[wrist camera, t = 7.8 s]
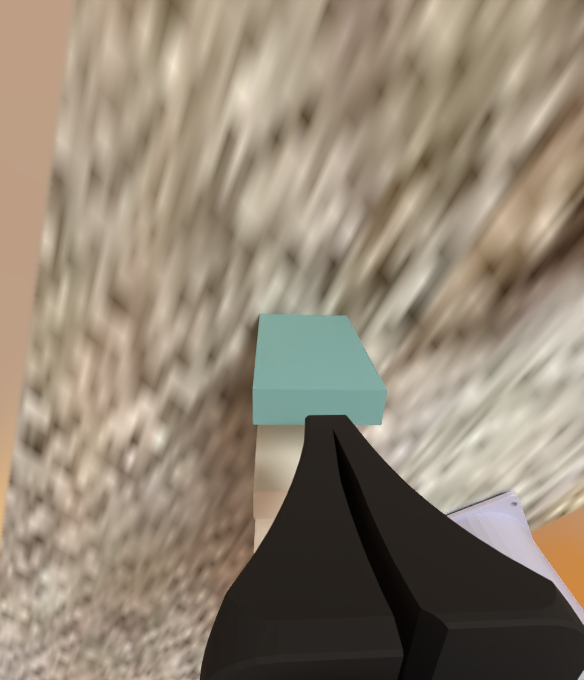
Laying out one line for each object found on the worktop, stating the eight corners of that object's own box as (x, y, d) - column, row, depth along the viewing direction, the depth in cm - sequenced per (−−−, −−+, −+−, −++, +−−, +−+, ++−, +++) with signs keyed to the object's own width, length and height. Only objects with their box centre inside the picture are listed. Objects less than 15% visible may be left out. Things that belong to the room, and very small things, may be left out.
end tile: (344, 341, 21) (381, 425, 14) (259, 339, 21) (252, 424, 14) (346, 315, 21) (387, 389, 13) (259, 313, 20) (252, 389, 13)
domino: (336, 412, 23) (365, 517, 16) (259, 411, 23) (253, 519, 16) (338, 391, 23) (370, 491, 15) (259, 390, 22) (253, 491, 15)
